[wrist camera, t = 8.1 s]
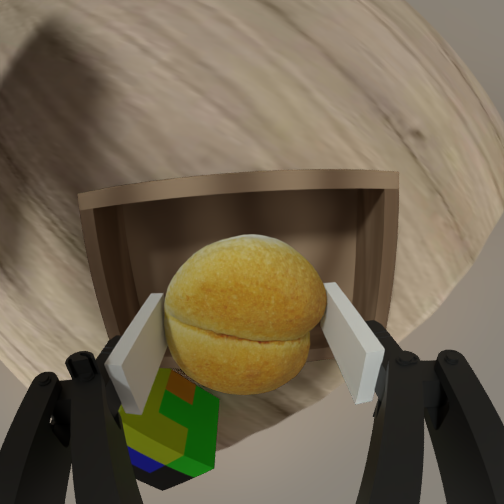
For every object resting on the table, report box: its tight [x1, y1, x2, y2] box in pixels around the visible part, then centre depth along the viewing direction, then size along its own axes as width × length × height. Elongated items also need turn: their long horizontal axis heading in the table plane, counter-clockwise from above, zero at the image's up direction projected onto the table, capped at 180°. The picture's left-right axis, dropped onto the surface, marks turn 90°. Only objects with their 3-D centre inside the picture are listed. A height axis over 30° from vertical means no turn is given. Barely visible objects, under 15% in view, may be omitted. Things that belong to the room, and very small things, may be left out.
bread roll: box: [164, 234, 327, 395], centre depth 14 cm, size 8×9×4 cm
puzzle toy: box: [118, 368, 219, 491], centre depth 25 cm, size 10×10×10 cm
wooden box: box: [77, 169, 399, 369], centre depth 22 cm, size 22×14×6 cm, turn 93°
